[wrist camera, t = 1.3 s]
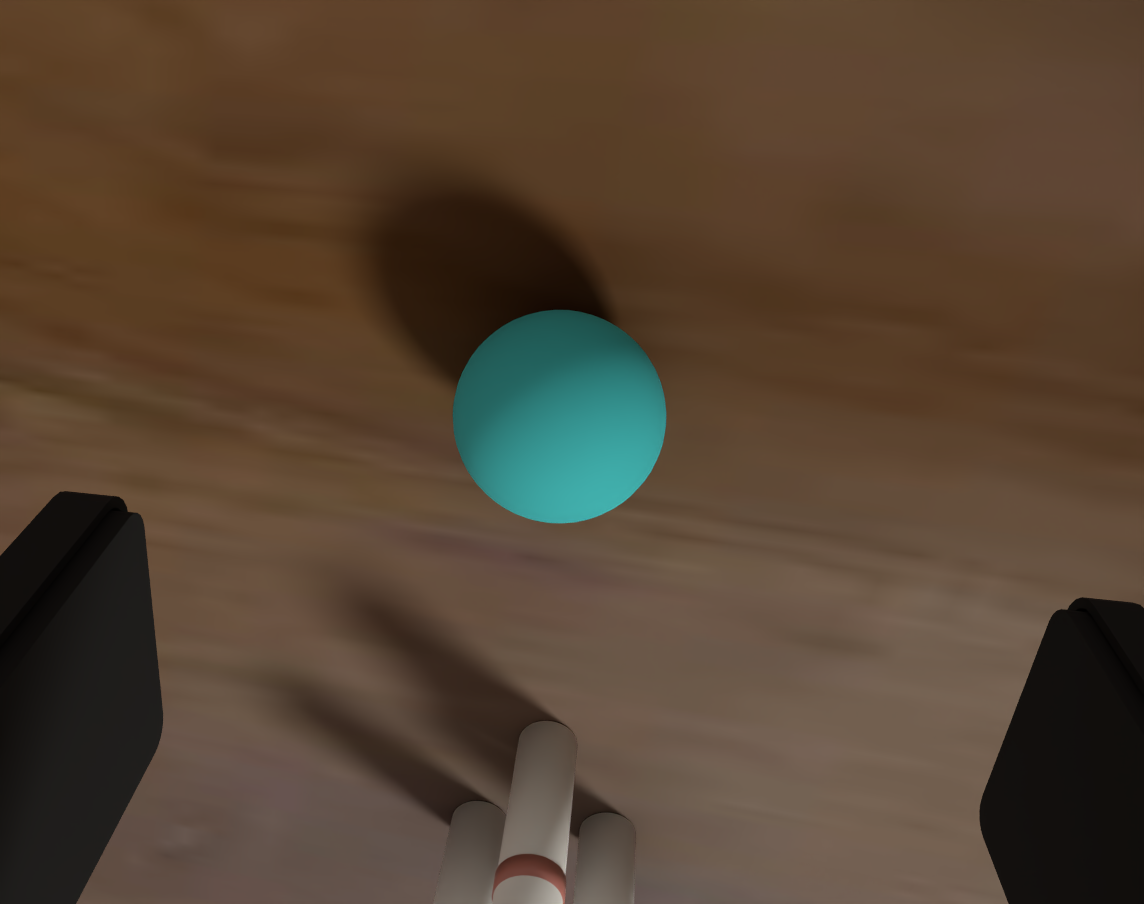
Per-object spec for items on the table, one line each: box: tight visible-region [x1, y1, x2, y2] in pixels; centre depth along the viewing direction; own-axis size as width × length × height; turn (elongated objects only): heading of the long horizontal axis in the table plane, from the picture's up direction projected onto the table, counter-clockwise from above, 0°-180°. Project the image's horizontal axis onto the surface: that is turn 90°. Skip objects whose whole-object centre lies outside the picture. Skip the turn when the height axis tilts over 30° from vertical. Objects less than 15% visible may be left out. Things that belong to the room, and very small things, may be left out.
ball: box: [453, 310, 666, 523], centre depth 31 cm, size 6×6×6 cm
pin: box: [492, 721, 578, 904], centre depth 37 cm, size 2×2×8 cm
